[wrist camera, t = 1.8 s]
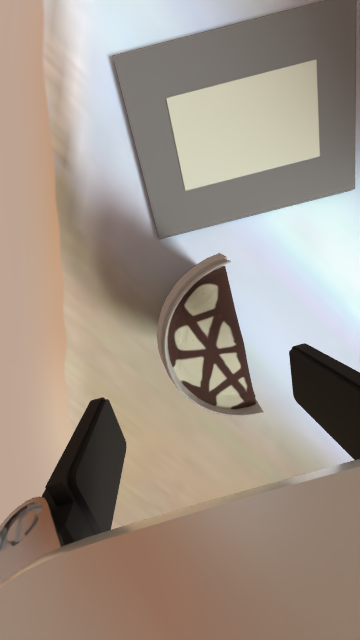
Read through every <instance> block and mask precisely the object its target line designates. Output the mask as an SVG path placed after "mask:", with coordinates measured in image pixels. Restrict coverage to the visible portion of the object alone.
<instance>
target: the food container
mask: <svg viewBox="0 0 360 640" xmlns="http://www.w3.org/2000/svg"><path fill="white" fill-rule="evenodd" d="M230 262H231V261H229V260H227V257H226V256H224V255H222V254H220V253H219V254H216V255H214V256H212V257H209V258H207V259H205V260H203V261H202V262H200V263H198V264H197V265H195V266H194V267H192V268H191V269H190V270H189V271H188V272H187V273H185V274H184V275H183V276H182V277H181V278H180V280H179V281H178V282H177V283H176V284H175V285H174V286H173V288H172V290H171V291H170V293H169V294H168V296H167V298H166V300H165V302H164V305H163V307H162V309H161V313H160V317H159V321H158V329H157V340H158V349H159V352H160V356H161V359H162V362H163V364H164V366H165V368H166V370H167V373H168V375H169V377H170V378H171V380H172V381H173V383H174V384H175V386H176V387H177V388H178V389H179V390H180V391H181V392H182V393H183V394H184V395H185V396H186V397H187V398H188V399H190V400H191V401H192V402H194V403H195V404H196V405H198V406H200V407H202V408H204V409H206V410H208V411H211V412H214V413H217V414H222V415H227V416H250V415H256V414H260V413H264V412H263V410H262V409H261V407H260V405H259V404H258V402H257V401H256V399H255V394H254V391H253V388H252V383H251V379H250V374H249V369H248V364H247V359H246V353H245V347H244V342H243V338H242V335H241V331H240V327H239V323H238V319H237V315H236V311H235V307H234V303H233V299H232V294H231V290H230V285H229V281H228V277H227V272H226V268H225V266H223V265H225V264H227V263H230ZM220 266H221V267H220Z"/></svg>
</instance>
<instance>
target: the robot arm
mask: <svg viewBox="0 0 360 640" xmlns="http://www.w3.org/2000/svg"><path fill="white" fill-rule="evenodd" d="M289 355H290V365H291V376H292V386H293V395H294V398H295V400H296V401H297V403H298V404H299V405H300V406H301V407H302V408H303V409H304V410H305V411H306V412H307V413H308V414H309V415H310V416H311V417H312V418H313V419H314V420H315V421H316V422H317V423H318V424H319V425H320V426H321V427H322V428H323V429H324V430H325V431H326V432H327V433H328V434H329V435H330V436H331V437H332V438H333V439H334V440H335V441H336V442H337V443H338V444H339V445H340V446H341V447H342V448H343V449H344V450H345V451H346V452H347V453H348V454H349V455H350V456H351V457H352V458H353V459H354V461H350V462H347V463H343V464H340V465H336V466H332V467H329V468H325V469H321V470H318V471H314V472H311V473H307V474H303V475H300V476H296V477H292V478H289V479H285V480H282V481H278V482H275V483H271V484H268V485H264V486H260V487H257V488H253V489H250V490H246V491H243V492H239V493H236V494H232V495H229V496H225V497H222V498H218V499H215V500H211V501H208V502H204V503H201V504H197V505H194V506H190V507H187V508H183V509H180V510H176V511H173V512H170V513H166V514H163V515H159V516H156V517H152V518H149V519H145V520H142V521H139V522H135V523H132V524H129V525H125V526H122V527H119V528H116V529H113V530H111V525H112V520H113V515H114V510H115V504H116V499H117V494H118V489H119V484H120V478H121V473H122V468H123V463H124V458H125V453H126V441H125V438H124V436H123V433H122V431H121V428H120V426H119V424H118V421H117V419H116V416H115V414H114V411H113V409H112V406H111V404H110V402H109V400H108V399H107V400H105V398H99V399H95V400H92V401H90V403H89V405H88V407H87V409H86V411H85V413H84V414H83V416H82V418H81V420H80V422H79V424H78V426H77V428H76V430H75V432H74V433H73V435H72V437H71V439H70V441H69V443H68V445H67V447H66V449H65V451H64V453H63V454H62V457H61V458H60V460H59V462H58V464H57V466H56V468H55V470H54V472H53V473H52V475H51V477H50V479H49V481H48V483H47V485H46V489H45V491H44V493H43V495H42V497H35V498H32V499H30V500H28V501H26V502H25V503H23V504H22V505H20V506H19V507H17V508H16V509H15V510H14V511H13V512H12V513H11V514H10V515H9V516H8V517H7V518H6V519H5V520H4V522H3V523H2V524H1V526H0V640H360V373H359V372H358V371H356V370H354V369H352V368H350V367H348V366H346V365H345V364H343V363H341V362H339V361H337V360H335V359H333V358H331V357H330V356H328V355H326V354H324V353H322V352H320V351H318V350H317V349H315V348H313V347H311V346H309V345H307V344H300V345H297V346H293V347H292V350H290V352H289Z"/></svg>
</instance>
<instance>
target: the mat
mask: <svg viewBox="0 0 360 640" xmlns="http://www.w3.org/2000/svg"><path fill="white" fill-rule="evenodd" d="M113 59H114V63H115V67H116V71H117V75H118V79H119V83H120V87H121V91H122V95H123V98H124V102H125V106H126V110H127V114H128V118H129V122H130V126H131V130H132V134H133V138H134V142H135V146H136V149H137V153H138V157H139V161H140V165H141V169H142V173H143V177H144V181H145V185H146V189H147V193H148V197H149V201H150V204H151V208H152V212H153V216H154V220H155V224H156V228H157V232H158V236H159V239H163V238H167V237H171V236H174V235H178V234H182V233H186V232H190V231H194V230H198V229H202V228H206V227H210V226H214V225H218V224H222V223H225V222H229V221H233V220H237V219H241V218H245V217H249V216H253V215H257V214H261V213H265V212H269V211H272V210H276V209H280V208H284V207H288V206H292V205H296V204H300V203H304V202H308V201H312V200H316V199H320V198H323V197H327V196H331V195H335V194H339V193H343V192H347V191H351V190H353V189H355V107H356V0H325V1H321V2H317V3H314V4H310V5H306V6H302V7H298V8H294V9H290V10H287V11H283V12H279V13H275V14H271V15H267V16H263V17H260V18H256V19H252V20H248V21H244V22H240V23H237V24H233V25H229V26H225V27H221V28H217V29H213V30H210V31H206V32H202V33H198V34H194V35H190V36H186V37H183V38H179V39H175V40H171V41H167V42H163V43H160V44H156V45H152V46H148V47H144V48H140V49H136V50H133V51H129V52H125V53H121V54H117V55H113Z"/></svg>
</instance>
